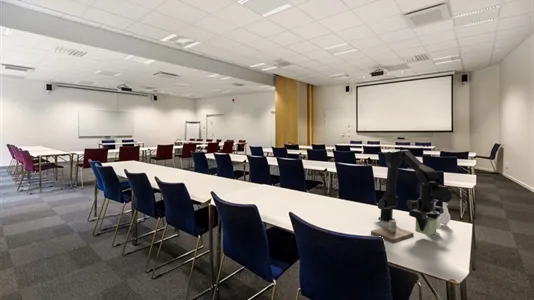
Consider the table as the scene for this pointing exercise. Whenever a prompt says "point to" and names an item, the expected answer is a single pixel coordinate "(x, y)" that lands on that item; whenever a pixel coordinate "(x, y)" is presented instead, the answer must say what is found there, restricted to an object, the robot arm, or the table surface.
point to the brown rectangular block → (392, 232)
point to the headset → (442, 217)
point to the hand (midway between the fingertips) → (425, 229)
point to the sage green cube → (428, 227)
